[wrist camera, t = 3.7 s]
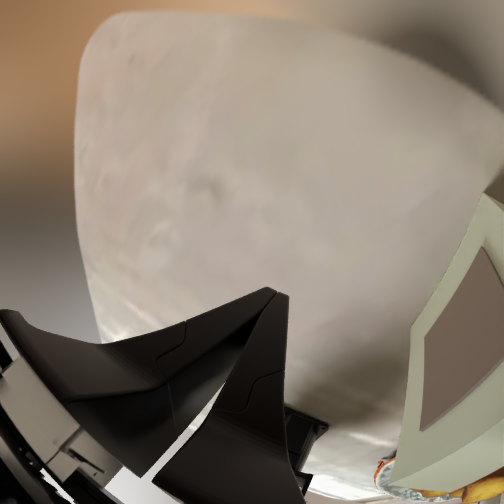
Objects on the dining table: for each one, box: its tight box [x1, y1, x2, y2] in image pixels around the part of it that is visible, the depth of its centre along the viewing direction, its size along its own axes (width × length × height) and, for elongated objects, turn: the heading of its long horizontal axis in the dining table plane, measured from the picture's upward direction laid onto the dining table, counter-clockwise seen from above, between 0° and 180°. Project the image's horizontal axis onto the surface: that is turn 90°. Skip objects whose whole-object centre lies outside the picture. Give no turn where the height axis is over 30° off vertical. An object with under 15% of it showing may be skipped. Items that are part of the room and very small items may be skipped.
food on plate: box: [374, 457, 504, 504], centre depth 17 cm, size 25×25×7 cm
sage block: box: [389, 193, 504, 492], centre depth 9 cm, size 10×4×11 cm, turn 170°
